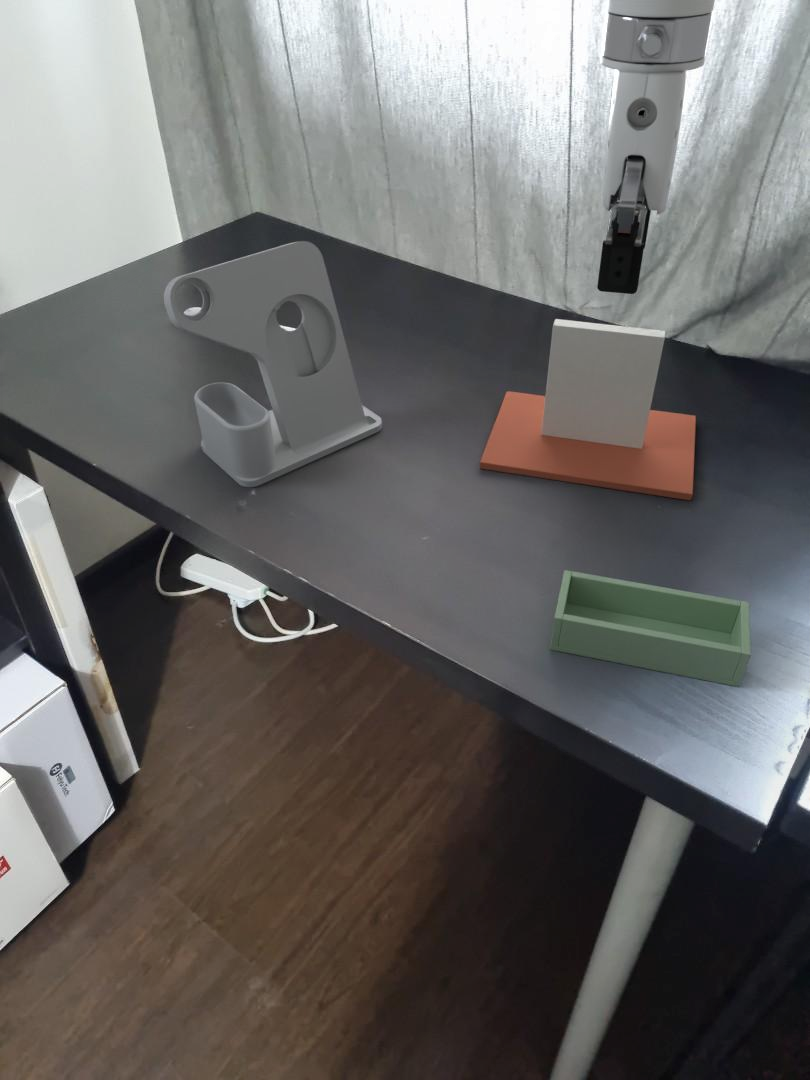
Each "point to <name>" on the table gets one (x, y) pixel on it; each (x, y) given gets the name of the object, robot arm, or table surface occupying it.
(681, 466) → the mat
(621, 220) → the robot arm
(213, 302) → the phone holder
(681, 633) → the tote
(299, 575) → the table surface
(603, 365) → the board
